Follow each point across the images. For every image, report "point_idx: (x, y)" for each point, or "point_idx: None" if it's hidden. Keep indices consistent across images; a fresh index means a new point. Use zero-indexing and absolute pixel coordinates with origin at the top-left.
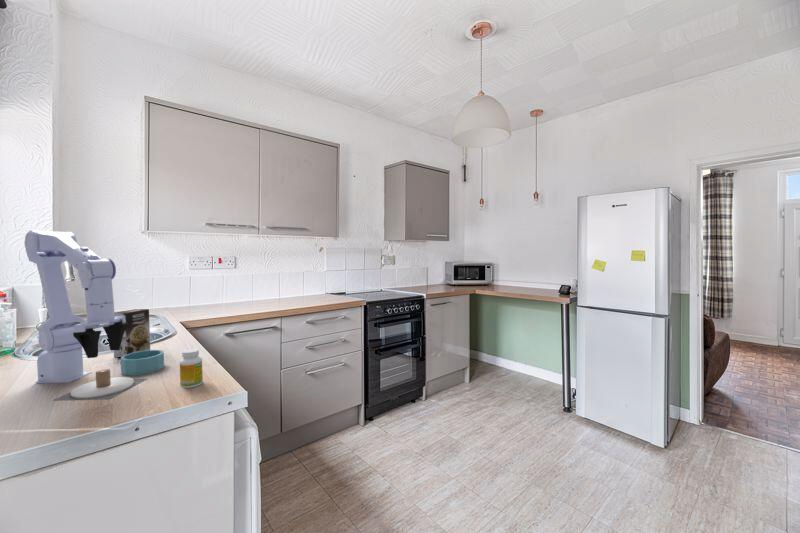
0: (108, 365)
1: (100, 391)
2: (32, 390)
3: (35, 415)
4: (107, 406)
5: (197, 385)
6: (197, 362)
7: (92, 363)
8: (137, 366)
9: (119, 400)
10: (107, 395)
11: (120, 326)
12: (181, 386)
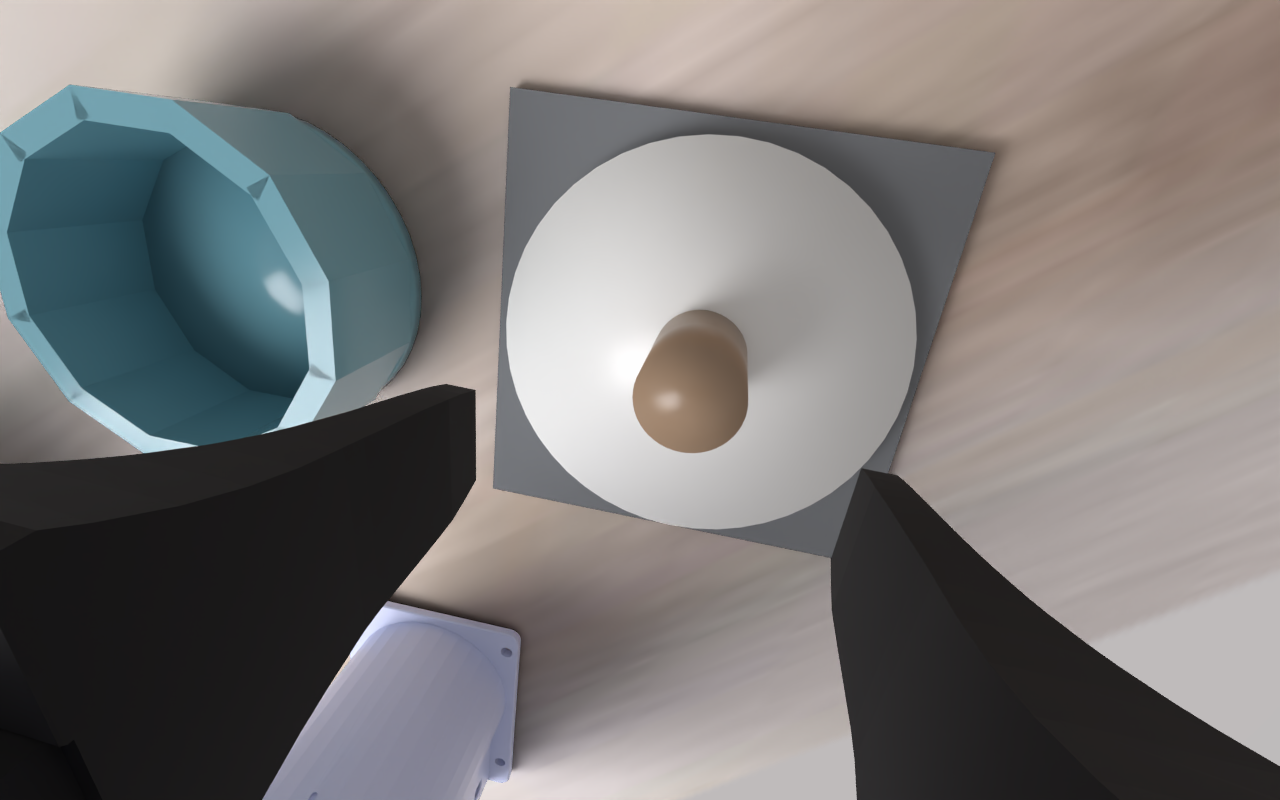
0: None
1: (844, 304)
2: (613, 738)
3: (1098, 527)
4: (1150, 87)
5: None
6: None
7: None
8: (364, 255)
9: (1022, 57)
10: (889, 225)
11: (88, 592)
12: None
